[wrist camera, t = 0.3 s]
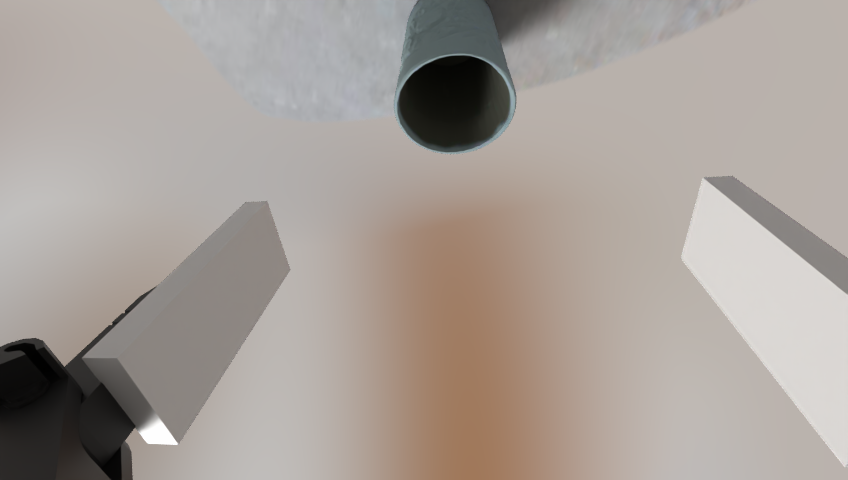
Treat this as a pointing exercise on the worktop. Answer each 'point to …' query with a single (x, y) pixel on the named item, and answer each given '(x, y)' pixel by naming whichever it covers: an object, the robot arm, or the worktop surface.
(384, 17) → the worktop surface
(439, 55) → the grey-green tumbler cup
